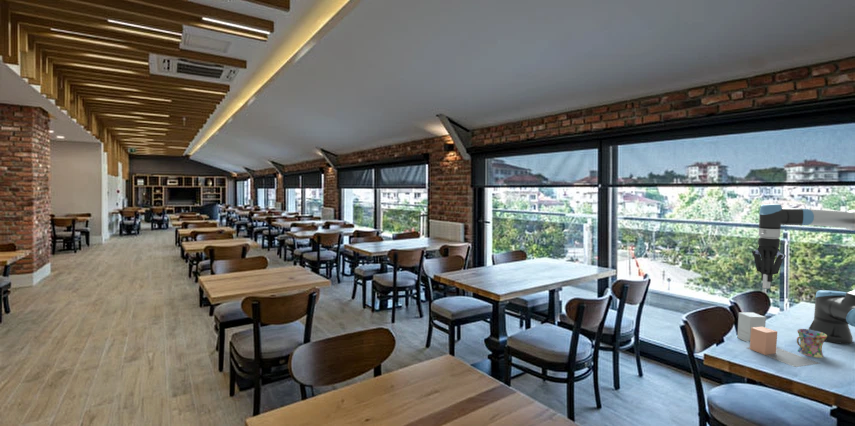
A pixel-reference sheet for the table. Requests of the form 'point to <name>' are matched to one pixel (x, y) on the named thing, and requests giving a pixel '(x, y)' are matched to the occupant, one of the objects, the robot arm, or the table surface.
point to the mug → (811, 342)
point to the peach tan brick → (763, 340)
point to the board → (790, 358)
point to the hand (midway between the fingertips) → (766, 288)
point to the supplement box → (749, 324)
